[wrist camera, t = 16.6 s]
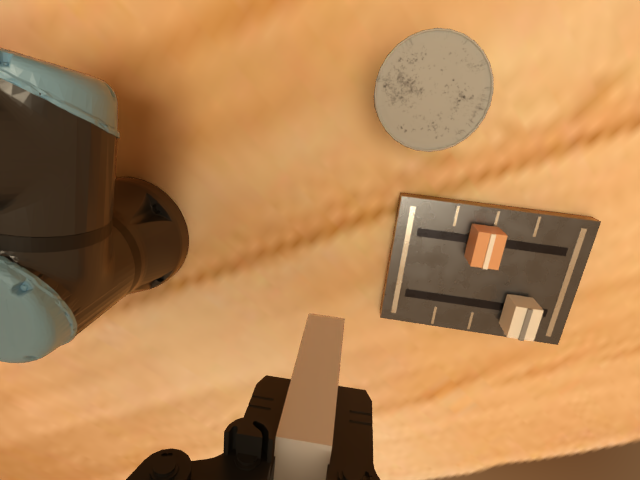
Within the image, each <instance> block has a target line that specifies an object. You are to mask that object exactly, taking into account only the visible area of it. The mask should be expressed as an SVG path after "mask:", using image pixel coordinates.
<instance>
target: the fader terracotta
mask: <svg viewBox="0 0 640 480" xmlns="http://www.w3.org/2000/svg"><path fill="white" fill-rule="evenodd" d="M507 237H508V235H507V234H505V233H504V232H503V231H502V230H501V229H500V228H499V227H495V226H487V225H480V224H472V225H471V229H470V234H469V238H468V242H467V246H466V250H465V254H464V257H465V258H466V260H467V261H468V263H469V265H470V266H472V267H479V268H482V269H494V270H499V266H500V262H501V259H502V255H503V251H504V248H505V244H506V240H507Z"/></svg>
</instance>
